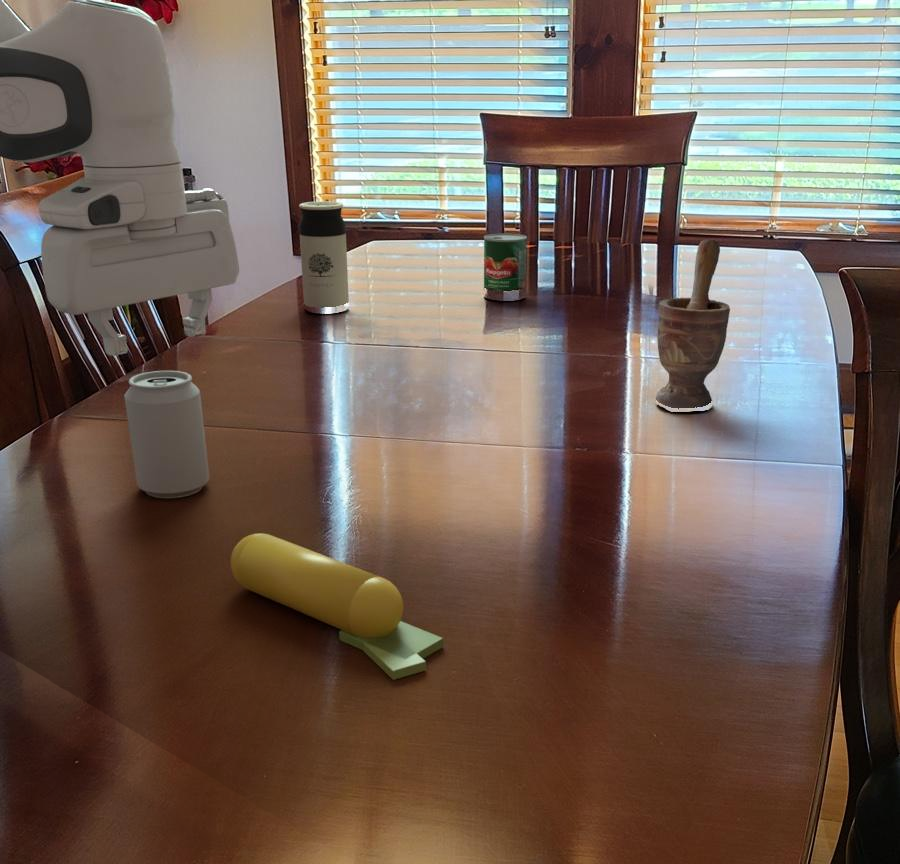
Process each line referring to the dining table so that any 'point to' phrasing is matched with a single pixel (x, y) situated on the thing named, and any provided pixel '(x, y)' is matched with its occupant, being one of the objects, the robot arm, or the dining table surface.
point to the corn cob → (336, 600)
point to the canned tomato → (504, 262)
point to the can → (167, 434)
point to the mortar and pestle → (692, 335)
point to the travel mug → (323, 254)
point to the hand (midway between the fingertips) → (157, 344)
